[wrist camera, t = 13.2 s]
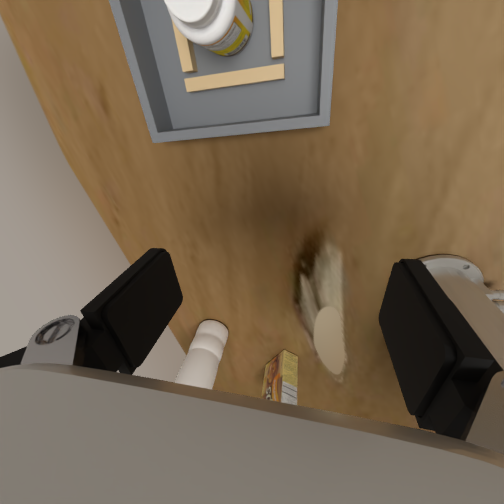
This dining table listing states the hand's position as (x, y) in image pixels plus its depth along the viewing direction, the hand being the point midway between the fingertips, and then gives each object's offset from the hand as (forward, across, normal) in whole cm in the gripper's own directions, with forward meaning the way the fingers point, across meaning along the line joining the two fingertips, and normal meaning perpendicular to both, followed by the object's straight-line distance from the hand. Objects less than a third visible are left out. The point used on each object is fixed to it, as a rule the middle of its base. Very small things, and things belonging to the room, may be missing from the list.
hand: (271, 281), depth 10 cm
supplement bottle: (+23, +7, -14) cm, 28 cm away
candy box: (+26, +3, +45) cm, 53 cm away
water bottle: (+26, +18, +36) cm, 48 cm away
